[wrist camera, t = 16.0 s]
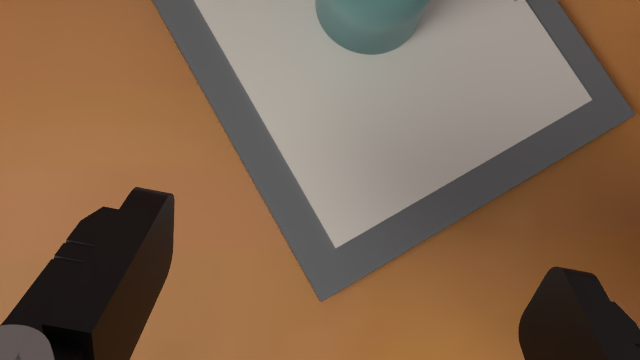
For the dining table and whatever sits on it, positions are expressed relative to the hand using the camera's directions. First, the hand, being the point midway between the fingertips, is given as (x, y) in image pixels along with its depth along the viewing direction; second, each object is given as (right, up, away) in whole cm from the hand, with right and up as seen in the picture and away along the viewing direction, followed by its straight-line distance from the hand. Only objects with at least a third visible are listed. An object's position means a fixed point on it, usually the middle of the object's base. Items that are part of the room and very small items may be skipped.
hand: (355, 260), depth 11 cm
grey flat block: (+1, +9, +12) cm, 15 cm away
